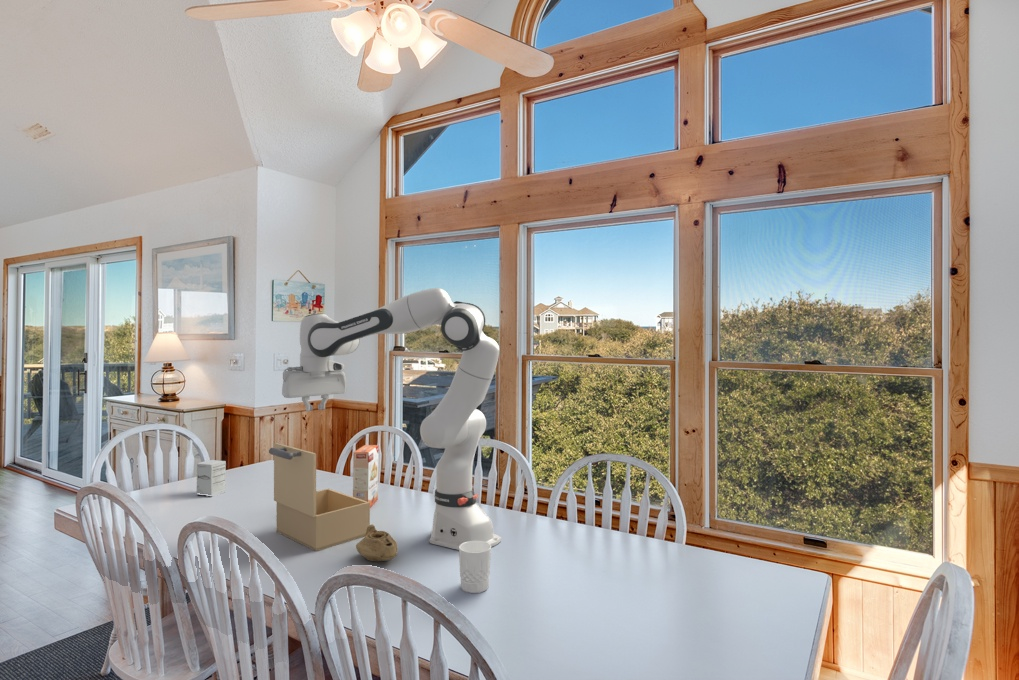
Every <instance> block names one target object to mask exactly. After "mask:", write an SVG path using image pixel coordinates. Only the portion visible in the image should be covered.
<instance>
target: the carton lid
mask: <svg viewBox="0 0 1019 680" xmlns="http://www.w3.org/2000/svg"><path fill="white" fill-rule="evenodd" d="M268 453H269V455H273V501H274V502H276V503H277V502H278V503H281V504H283V505H286V506H288V507H291V508H293V509H295V510H298V511H300V512H303V513H305V514H307V515H310V516H312V517H316V491H317V453H315V452H312V451H308V450H304V449H301V448H298V447H294V446H291V445H290V446H289V445H285V444H282V443H278V442H274V443H273V447H271V448H269V449H268Z"/></svg>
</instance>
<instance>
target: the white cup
mask: <svg viewBox="0 0 1019 680" xmlns="http://www.w3.org/2000/svg"><path fill="white" fill-rule="evenodd" d="M491 555H492V547H491V545H490V544H489V543H487V542H483V541H468V542H464V543H462V544H461V545H460V546H459V550H458V556H459V574H460V575H459V577H460V586H461V590H462V591H463V592H466V593H470V594H479V593H483V592H485V591H487V590H488V589H489V586H490V574H491V573H490V572H491Z"/></svg>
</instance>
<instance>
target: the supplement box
mask: <svg viewBox="0 0 1019 680" xmlns="http://www.w3.org/2000/svg"><path fill="white" fill-rule="evenodd" d="M226 466H227V463H226V460H216V459H208V460H204V461H201V462H197V463H196V494H197V493H200V494H208V495H212V494H216V493H219V492H222V491H225V492H226V479H227V478H226V477H227V474H226V473H227V472H226Z"/></svg>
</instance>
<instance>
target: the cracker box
mask: <svg viewBox="0 0 1019 680" xmlns="http://www.w3.org/2000/svg"><path fill="white" fill-rule="evenodd" d="M379 448H380V447H379V445H377V444H364V445H362V446H361V447H359V448H357V449H356V450H355V451H354V452H353V467H352V468H353V469H352V471H353V475H352V477H353V478H352V497H355V498H358V499H361V500H364V501H367V502H370V508H372V507H373V505H374V504H375V503H376V502H377V501H378V499H379V456H380V455H379V450H380V449H379Z"/></svg>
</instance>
